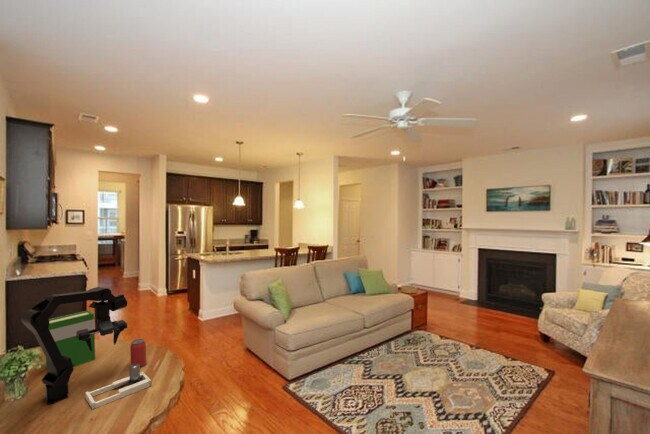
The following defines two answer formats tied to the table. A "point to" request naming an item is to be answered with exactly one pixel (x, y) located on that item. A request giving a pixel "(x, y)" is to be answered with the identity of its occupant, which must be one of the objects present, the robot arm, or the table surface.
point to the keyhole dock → (122, 392)
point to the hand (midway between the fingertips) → (103, 347)
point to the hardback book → (73, 336)
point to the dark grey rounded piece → (134, 374)
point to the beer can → (138, 352)
